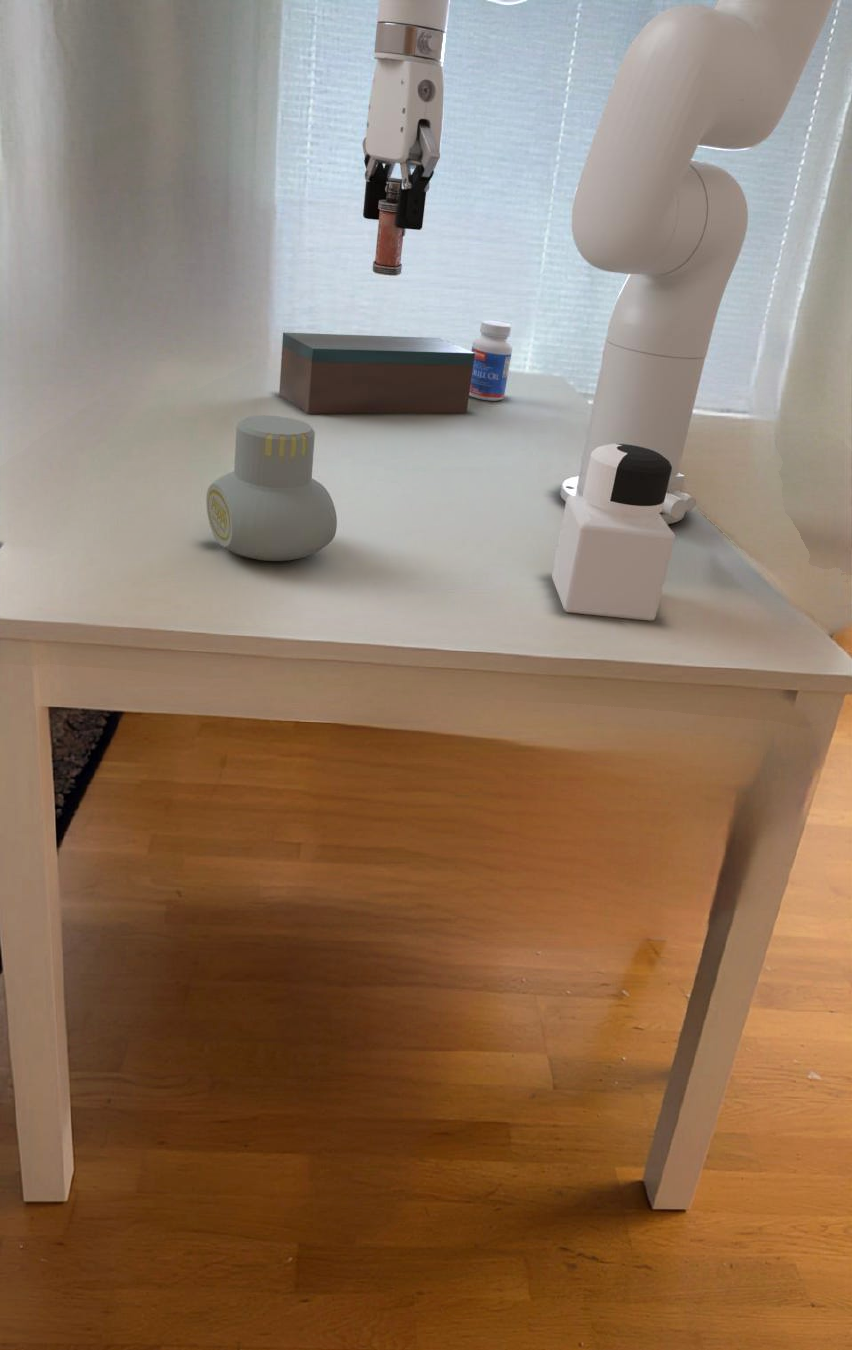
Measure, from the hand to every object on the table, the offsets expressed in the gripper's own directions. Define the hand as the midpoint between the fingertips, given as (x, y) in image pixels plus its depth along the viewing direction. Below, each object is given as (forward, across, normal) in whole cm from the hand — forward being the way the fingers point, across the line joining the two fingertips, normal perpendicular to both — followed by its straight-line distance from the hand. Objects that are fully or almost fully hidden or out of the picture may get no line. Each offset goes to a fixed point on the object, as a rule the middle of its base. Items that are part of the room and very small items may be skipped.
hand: (391, 223), depth 123 cm
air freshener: (+21, -44, +31) cm, 58 cm away
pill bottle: (+21, +5, -20) cm, 30 cm away
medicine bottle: (+21, -59, +10) cm, 63 cm away
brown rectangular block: (+21, +1, -1) cm, 21 cm away
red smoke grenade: (+5, 0, 0) cm, 5 cm away
